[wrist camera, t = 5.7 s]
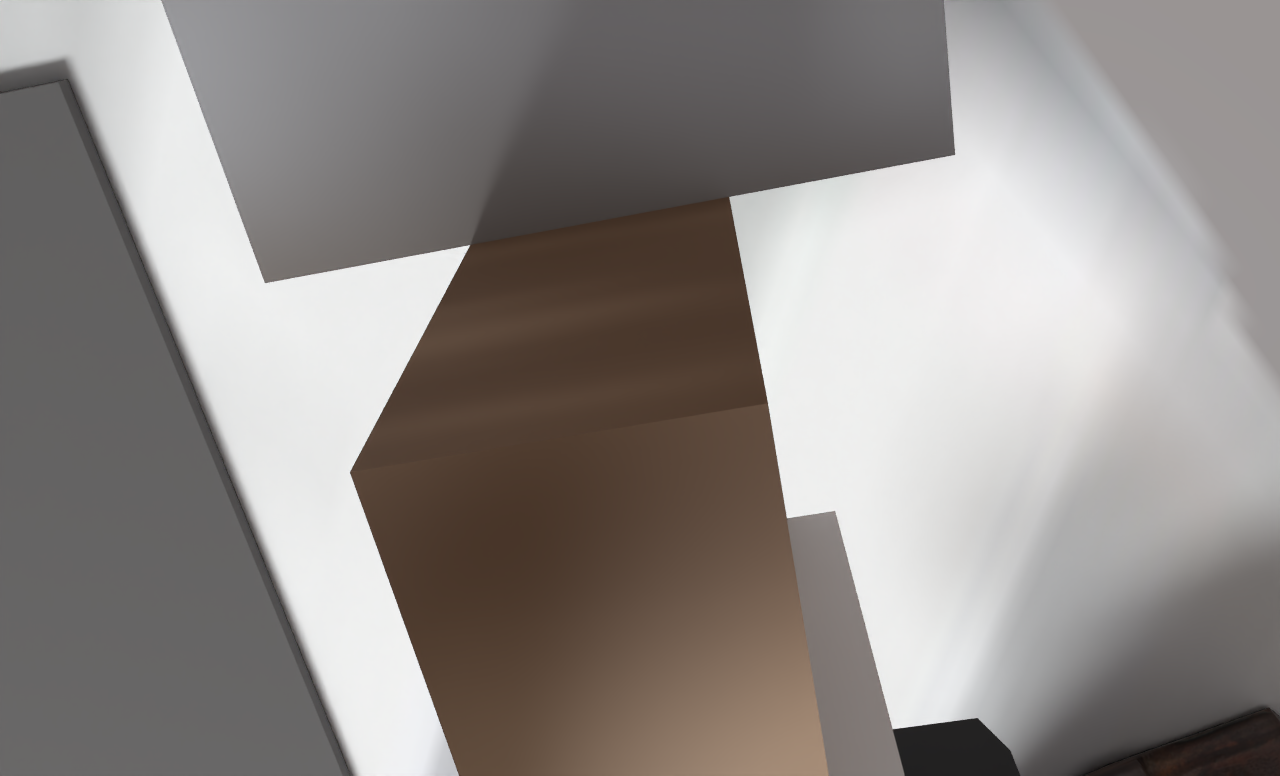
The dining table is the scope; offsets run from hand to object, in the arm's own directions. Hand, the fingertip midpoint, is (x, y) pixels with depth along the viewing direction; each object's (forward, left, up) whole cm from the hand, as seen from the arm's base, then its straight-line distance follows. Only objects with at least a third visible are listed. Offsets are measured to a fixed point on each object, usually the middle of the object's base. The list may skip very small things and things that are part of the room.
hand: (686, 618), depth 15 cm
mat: (-19, -6, -12) cm, 23 cm away
